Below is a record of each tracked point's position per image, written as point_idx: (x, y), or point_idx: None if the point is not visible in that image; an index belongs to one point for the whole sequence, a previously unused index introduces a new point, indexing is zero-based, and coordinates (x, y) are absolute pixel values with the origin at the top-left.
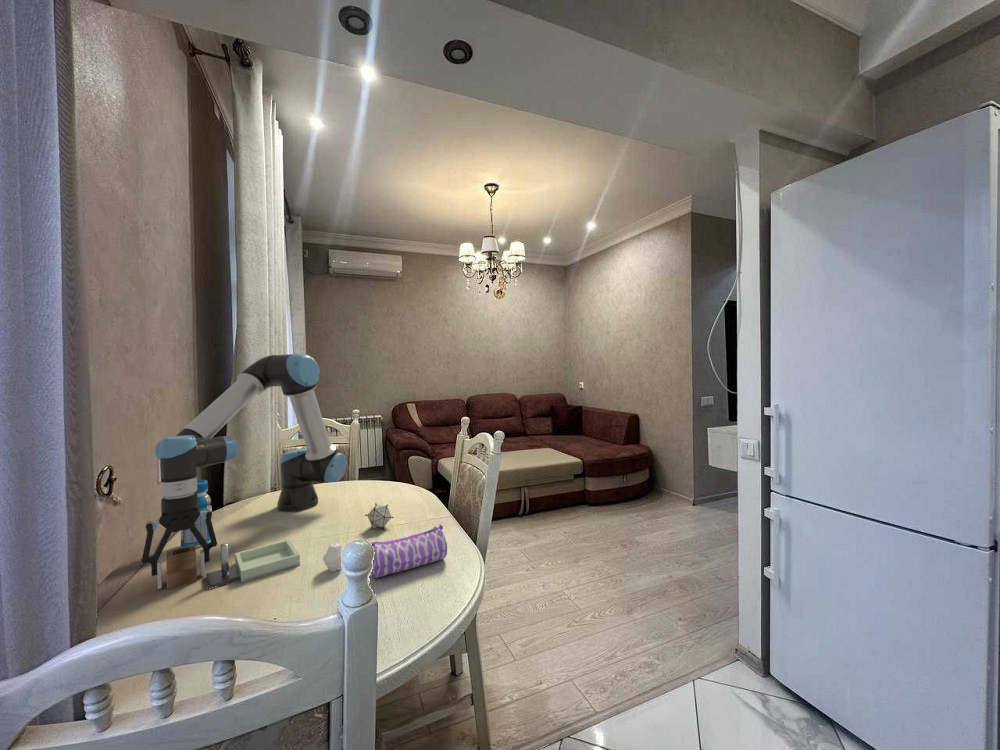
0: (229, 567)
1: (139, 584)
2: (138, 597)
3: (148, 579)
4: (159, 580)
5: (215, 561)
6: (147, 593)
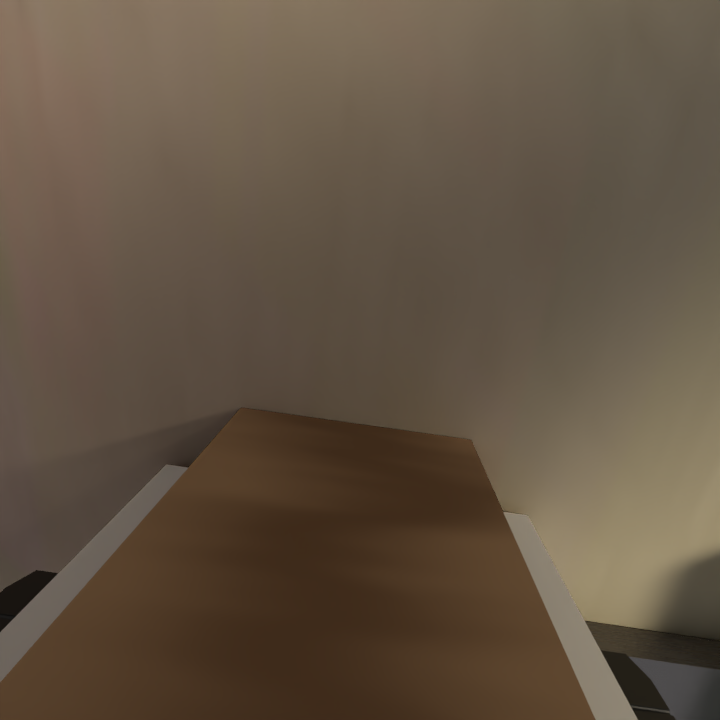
0: (715, 677)
1: (21, 278)
2: (48, 560)
3: (86, 210)
4: None
5: (714, 281)
6: None
